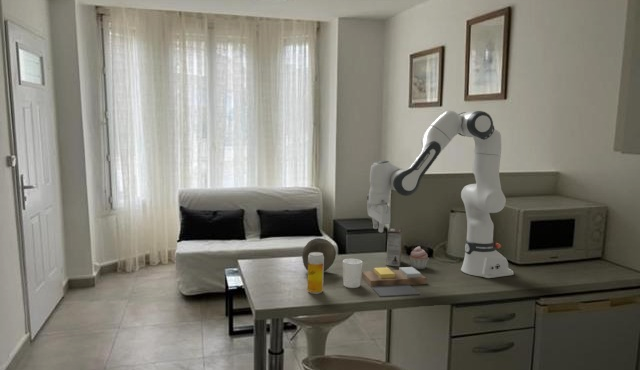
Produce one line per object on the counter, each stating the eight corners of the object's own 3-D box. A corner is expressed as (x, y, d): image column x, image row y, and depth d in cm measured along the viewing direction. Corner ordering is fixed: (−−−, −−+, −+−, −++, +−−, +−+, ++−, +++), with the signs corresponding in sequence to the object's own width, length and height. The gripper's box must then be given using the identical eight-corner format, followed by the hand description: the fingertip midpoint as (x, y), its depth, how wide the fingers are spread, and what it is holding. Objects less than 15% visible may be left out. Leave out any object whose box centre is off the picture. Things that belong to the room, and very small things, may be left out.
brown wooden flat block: (414, 274, 207) (415, 269, 207) (426, 283, 195) (426, 278, 195) (361, 277, 202) (362, 271, 202) (370, 286, 190) (370, 280, 190)
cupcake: (432, 269, 215) (433, 248, 214) (414, 271, 212) (415, 249, 211) (421, 263, 224) (422, 243, 223) (404, 265, 221) (405, 244, 219)
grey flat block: (412, 270, 205) (412, 266, 205) (420, 277, 196) (420, 273, 196) (398, 271, 204) (399, 267, 203) (407, 277, 195) (407, 273, 195)
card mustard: (387, 270, 204) (387, 267, 203) (394, 277, 195) (394, 273, 195) (373, 271, 202) (373, 267, 202) (380, 278, 194) (380, 274, 193)
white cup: (355, 290, 186) (356, 265, 185) (338, 286, 191) (339, 261, 189) (364, 284, 193) (365, 260, 192) (347, 280, 197) (348, 257, 196)
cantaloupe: (316, 280, 197) (317, 244, 195) (295, 271, 208) (296, 238, 206) (341, 273, 207) (342, 239, 205) (319, 265, 217) (320, 233, 215)
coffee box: (387, 260, 229) (388, 227, 227) (400, 261, 228) (402, 228, 226) (386, 265, 220) (387, 231, 218) (400, 266, 219) (401, 232, 217)
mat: (408, 285, 193) (408, 284, 193) (419, 294, 183) (419, 293, 183) (370, 287, 190) (370, 286, 190) (379, 296, 179) (380, 295, 179)
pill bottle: (307, 288, 186) (307, 251, 185) (322, 288, 187) (323, 251, 185) (307, 294, 180) (308, 256, 179) (323, 294, 181) (324, 255, 179)
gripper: (395, 202, 194) (393, 235, 196) (378, 195, 214) (377, 225, 216) (380, 202, 193) (379, 236, 195) (365, 195, 213) (364, 225, 215)
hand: (378, 230), depth 206 cm, fingers open, 5 cm apart
